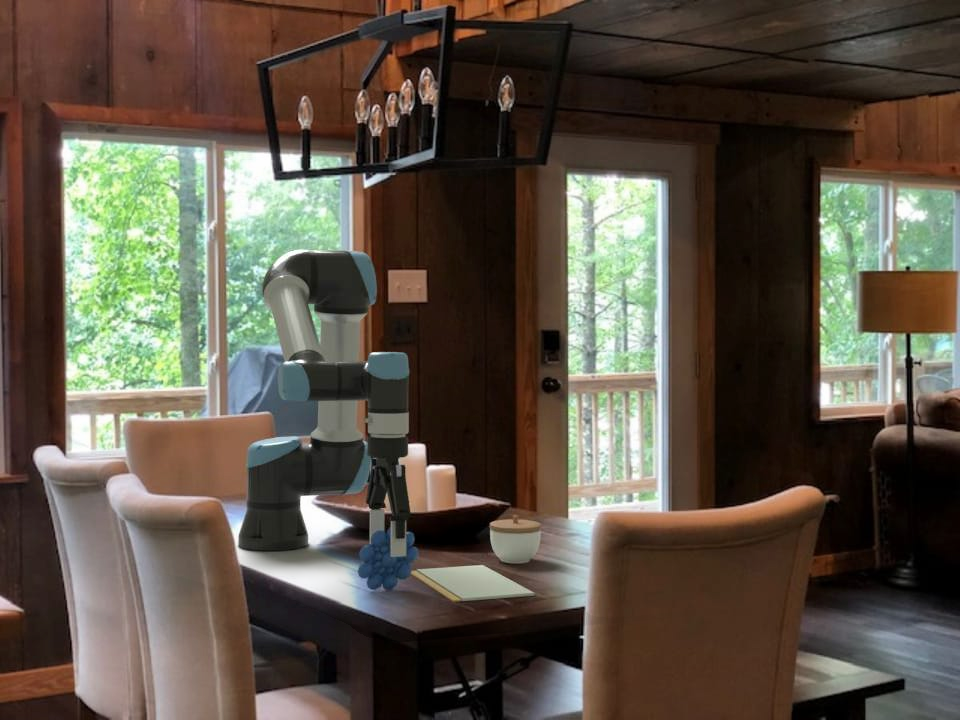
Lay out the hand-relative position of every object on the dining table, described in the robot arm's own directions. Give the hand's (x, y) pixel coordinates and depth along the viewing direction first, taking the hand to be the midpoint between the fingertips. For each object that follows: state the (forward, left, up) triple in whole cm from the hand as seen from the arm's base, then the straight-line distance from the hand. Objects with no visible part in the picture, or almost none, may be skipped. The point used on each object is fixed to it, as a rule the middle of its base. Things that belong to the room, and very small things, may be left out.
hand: (387, 550), depth 231 cm
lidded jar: (-17, +33, -8) cm, 38 cm away
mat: (0, +17, -7) cm, 19 cm away
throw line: (0, +9, -7) cm, 12 cm away
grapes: (0, 0, -8) cm, 8 cm away
